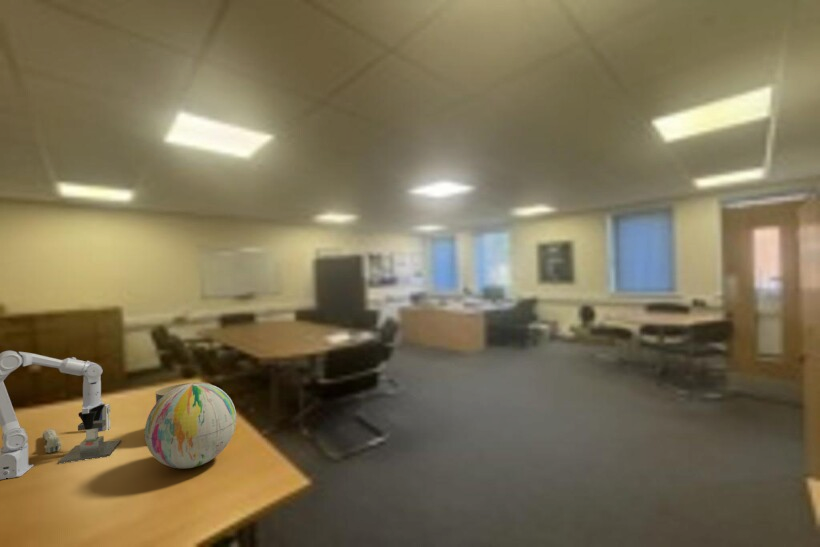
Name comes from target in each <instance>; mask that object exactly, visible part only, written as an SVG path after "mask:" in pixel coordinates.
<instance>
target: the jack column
mask: <svg viewBox="0 0 820 547" xmlns="http://www.w3.org/2000/svg"><path fill="white" fill-rule="evenodd" d="M105 425H106V420H98V421H94V422H93V427H92V429H89V430H85V428H84V424H83V422H80V423H79V424H78V425H77V431H78V432H79V431H85V439H86V442H89V441H96V440H97V439H98V437H99V431H98V428H102V427H104V426H105Z"/></svg>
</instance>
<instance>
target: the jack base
mask: <svg viewBox="0 0 820 547" xmlns="http://www.w3.org/2000/svg"><path fill="white" fill-rule="evenodd" d="M104 438H105V437H104V435H100V436H99V435H98V439H97V440H96V441H89V442H86V438H84V439H83V440H82V441H81V442H80V443H79V444H78V445H74V447H73V448H71V449H70V450H69V451H68V452H67V453H66V454H65V455H64V456H62V457H61V459H59V460H58V465H60V464H59V463H62V464H65V463H64V462H69V463H72V462H71V461H75V462H79V461H78V460H82V461H86V460H85V459H89V460H93V459H92V458H95V459H101V458H100V457H102V458H107V456H109V457H111V456H112V454H113V453H114V452H115V450H116V449H117V448H118V447H119V446H120V444H121V443H122V442H123V440H122V438H121V439H114V440H107V441H106V440H105V441H104ZM117 446H118V447H117ZM112 452H113V453H112Z"/></svg>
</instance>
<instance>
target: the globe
mask: <svg viewBox="0 0 820 547" xmlns="http://www.w3.org/2000/svg"><path fill="white" fill-rule="evenodd" d="M189 383H190V384H186V385H182V386H180V387H177V388H175V389H173V390H171V391H170V392H168V393H167V394H165V395H164V396H163V397H162V398H161V399H160V400H159V401H158V402H157V403H156V402H155V404H154V406H153V407H152V409H151V410H150V412H149V413H148V416H147V419H146V421H145V422H146V423H145V428H144V439H145V443H146V445H147V450H148V451H149V453H150V454H151V455H152V457H153V458H154V459H156V460H157V461H158V462H159V463H161V464H163V465H165V466H167V467H170V468H174V469H192V468H196V467H200V466H203V465H205V464H206V463H208V462H210V461H212V460H214V459H215V458H216V457H217V456H218V455H220V454H221V453H222V451H224V450H225V448H227V446H228V444H230V442H231V439H232V437H233V435H234V432H235V430H236V427H237V426H236V425H237V412H236V411H237V410H236V408H235V405H234V403H233V400H232V399H231V397H230V396H229V395H228V393H226V392H225V391H224V390H223V389H221V388H220V387H218V386H216V385H213V384H211V383H209V384H207V383H208V382H202V383H196V382H189Z"/></svg>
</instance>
